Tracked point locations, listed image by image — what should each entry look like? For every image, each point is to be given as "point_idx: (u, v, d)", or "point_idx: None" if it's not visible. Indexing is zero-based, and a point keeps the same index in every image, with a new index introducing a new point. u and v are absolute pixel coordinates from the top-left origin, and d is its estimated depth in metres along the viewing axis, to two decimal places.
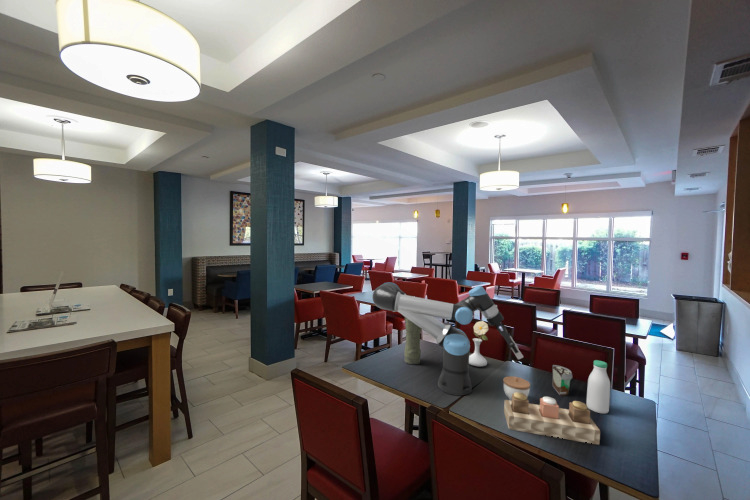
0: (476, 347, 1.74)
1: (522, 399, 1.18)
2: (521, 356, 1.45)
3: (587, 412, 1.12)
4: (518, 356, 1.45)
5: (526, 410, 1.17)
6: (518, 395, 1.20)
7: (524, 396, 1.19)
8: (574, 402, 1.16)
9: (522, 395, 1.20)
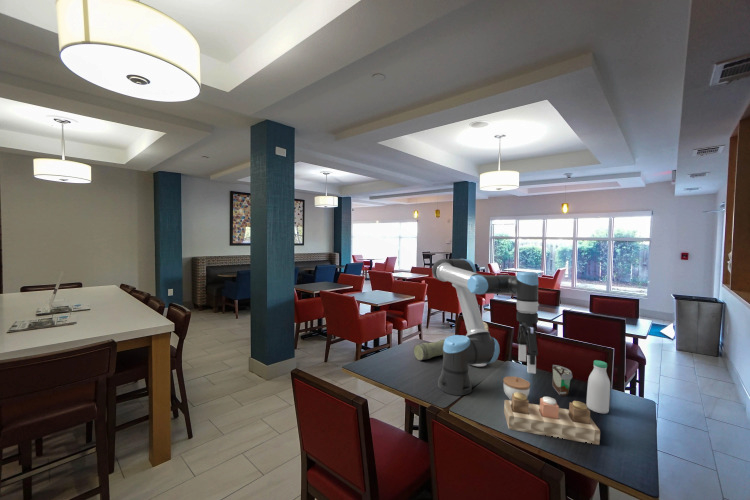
0: None
1: (522, 399, 1.18)
2: (533, 371, 1.15)
3: (587, 412, 1.12)
4: (530, 369, 1.16)
5: (526, 410, 1.17)
6: (518, 395, 1.20)
7: (524, 396, 1.19)
8: (574, 402, 1.16)
9: (522, 395, 1.20)
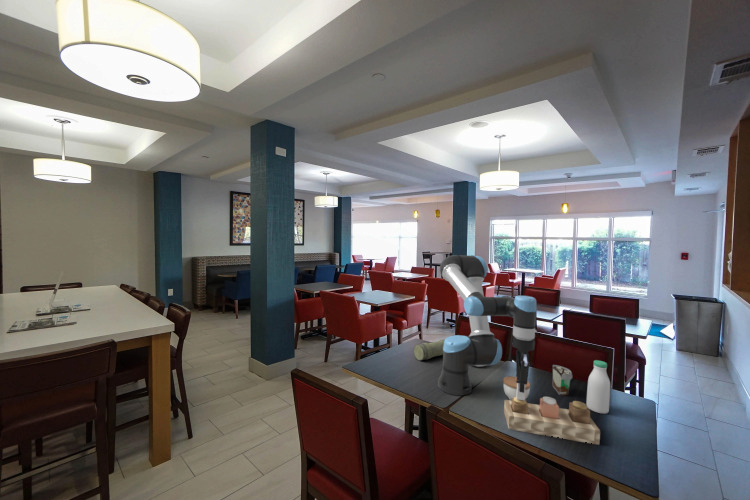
0: None
1: (522, 403, 1.18)
2: (522, 398, 1.19)
3: (587, 412, 1.12)
4: (519, 396, 1.19)
5: None
6: None
7: None
8: (574, 402, 1.16)
9: None
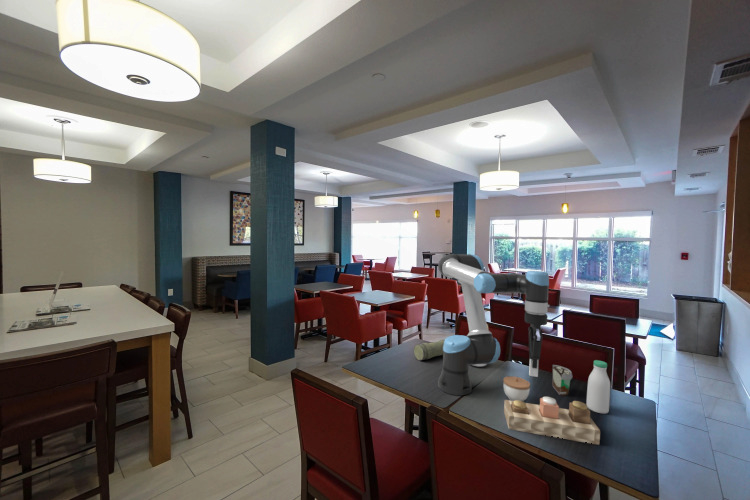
0: None
1: (522, 407, 1.18)
2: (535, 374, 1.17)
3: (587, 412, 1.12)
4: (532, 372, 1.17)
5: None
6: (518, 403, 1.20)
7: (524, 404, 1.19)
8: (574, 402, 1.16)
9: (522, 403, 1.20)
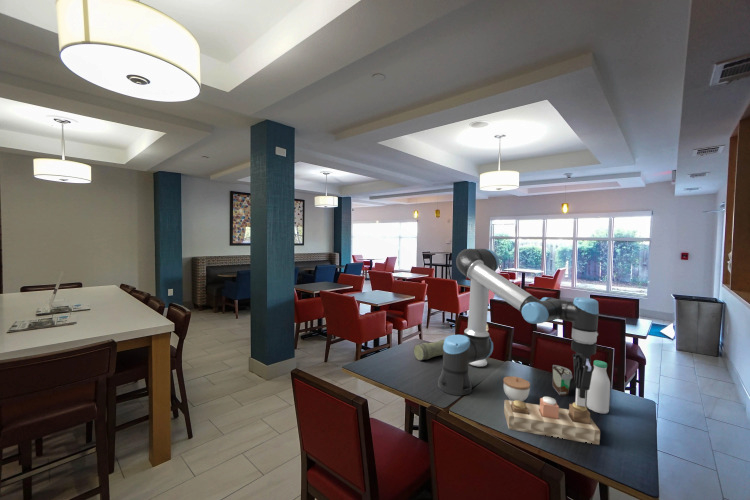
0: None
1: (522, 407, 1.18)
2: (583, 404, 1.14)
3: (587, 414, 1.12)
4: (579, 402, 1.14)
5: None
6: (518, 403, 1.20)
7: (524, 404, 1.19)
8: (574, 403, 1.16)
9: (522, 403, 1.20)
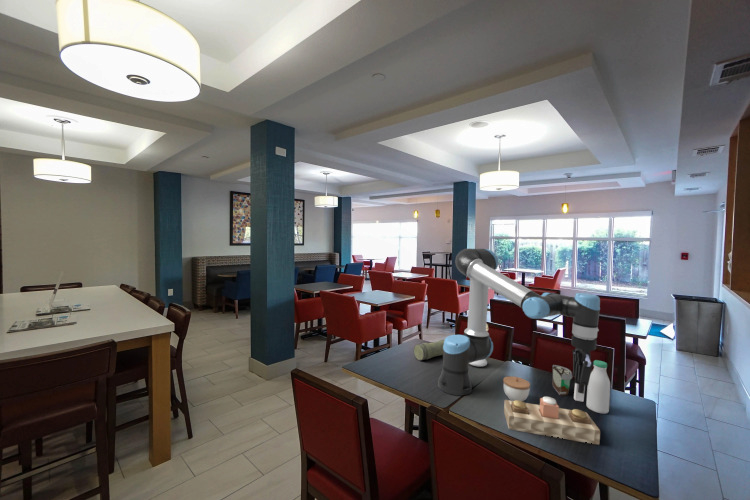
0: None
1: (522, 407, 1.18)
2: (581, 399, 1.14)
3: (586, 421, 1.12)
4: (578, 397, 1.15)
5: None
6: (518, 403, 1.20)
7: (524, 404, 1.19)
8: (573, 410, 1.16)
9: (522, 403, 1.20)
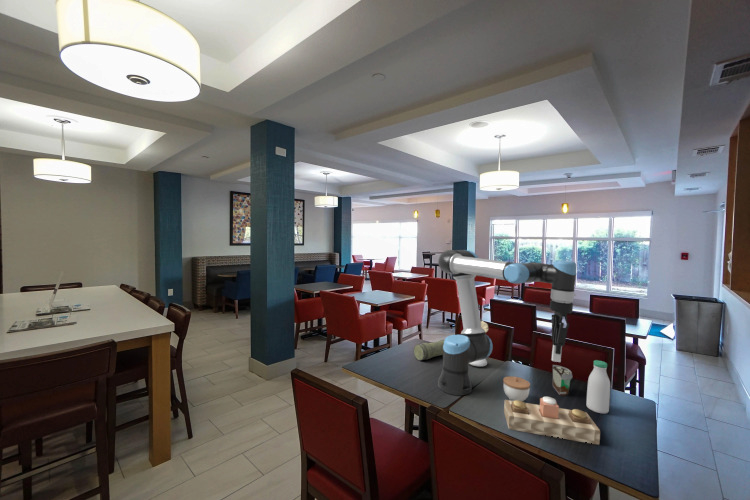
0: None
1: (522, 407, 1.18)
2: (558, 360, 1.21)
3: (586, 421, 1.12)
4: (555, 358, 1.22)
5: None
6: (518, 403, 1.20)
7: (524, 404, 1.19)
8: (573, 410, 1.16)
9: (522, 403, 1.20)
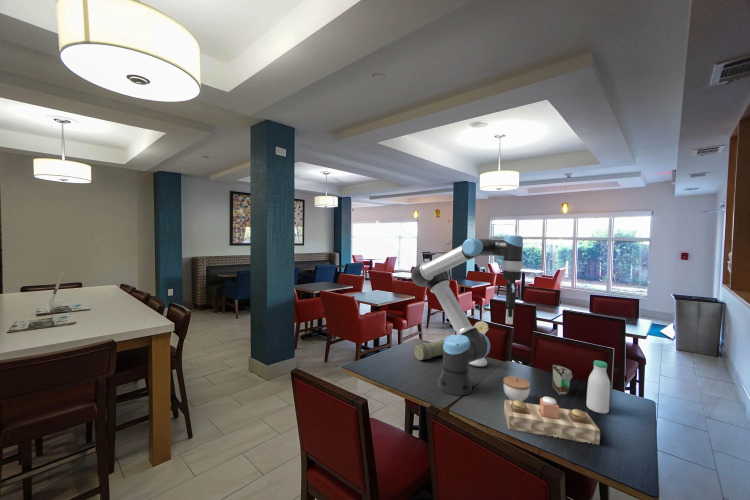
0: None
1: (522, 407, 1.18)
2: (511, 322, 1.39)
3: (586, 421, 1.12)
4: (508, 320, 1.39)
5: None
6: (518, 403, 1.20)
7: (524, 404, 1.19)
8: (573, 410, 1.16)
9: (522, 403, 1.20)
